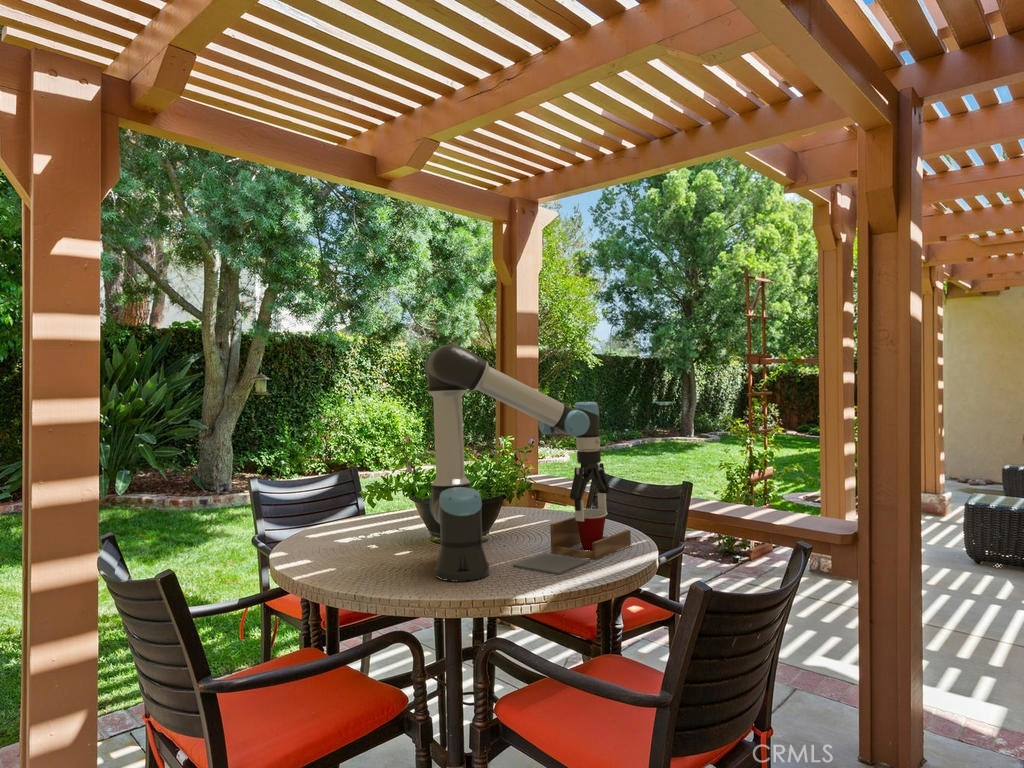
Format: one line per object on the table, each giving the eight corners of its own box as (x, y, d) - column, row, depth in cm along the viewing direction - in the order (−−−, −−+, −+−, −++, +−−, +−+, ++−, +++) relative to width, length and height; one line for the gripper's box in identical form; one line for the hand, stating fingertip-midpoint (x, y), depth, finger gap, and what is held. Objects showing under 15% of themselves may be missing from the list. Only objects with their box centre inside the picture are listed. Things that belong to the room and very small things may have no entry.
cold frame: (551, 552, 204) (550, 524, 204) (587, 539, 221) (586, 513, 221) (596, 560, 194) (595, 529, 194) (630, 545, 211) (630, 517, 211)
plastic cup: (573, 553, 203) (571, 514, 203) (575, 545, 214) (574, 508, 214) (608, 553, 201) (607, 514, 201) (609, 545, 212) (608, 508, 212)
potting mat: (513, 566, 189) (513, 564, 189) (545, 555, 201) (545, 553, 201) (558, 575, 179) (558, 572, 179) (589, 562, 192) (589, 560, 192)
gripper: (577, 454, 196) (580, 525, 196) (618, 446, 215) (621, 511, 215) (556, 453, 201) (559, 523, 200) (598, 446, 220) (601, 509, 220)
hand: (591, 517), depth 208 cm, fingers open, 13 cm apart
